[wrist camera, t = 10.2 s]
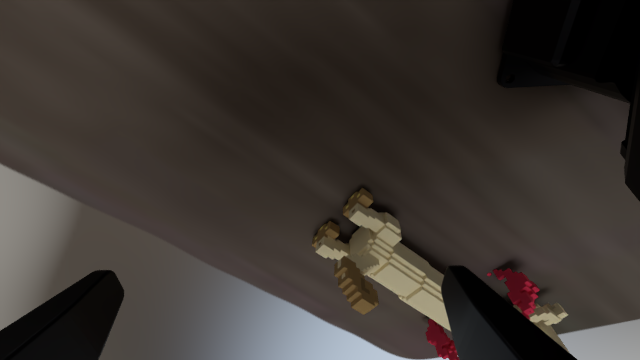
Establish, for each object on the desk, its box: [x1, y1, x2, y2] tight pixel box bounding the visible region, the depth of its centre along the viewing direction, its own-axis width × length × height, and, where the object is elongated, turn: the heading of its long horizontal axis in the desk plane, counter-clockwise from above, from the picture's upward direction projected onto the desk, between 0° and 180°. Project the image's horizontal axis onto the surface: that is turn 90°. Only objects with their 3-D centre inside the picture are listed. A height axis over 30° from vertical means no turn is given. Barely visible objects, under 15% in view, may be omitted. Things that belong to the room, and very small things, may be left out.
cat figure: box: [312, 188, 569, 360], centre depth 22 cm, size 10×9×25 cm
